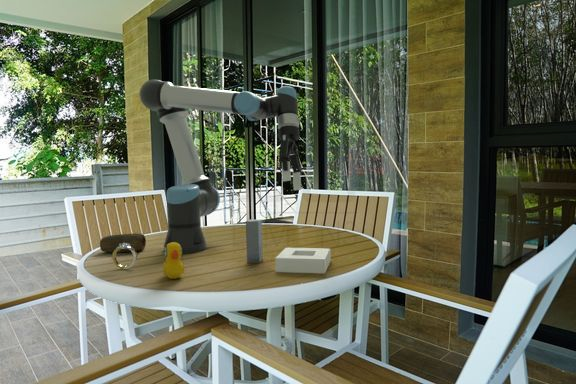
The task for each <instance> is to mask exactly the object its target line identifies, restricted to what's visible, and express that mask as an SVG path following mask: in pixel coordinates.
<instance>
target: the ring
mask: <svg viewBox="0 0 576 384" xmlns="http://www.w3.org/2000/svg"><path fill="white" fill-rule="evenodd" d="M128 244H129V243H128ZM128 244H127V243H123V244H122V245H121V244H119V245H120V246H119V247H117V248H116V249H115V250H114V252H112V257H111V259H112V262H113V263H114V265H115V266H116V267H117V268H119V269H121V270H124V269H126V270H128V269H130V268H132V267H133V266H134V265H135V264H136V262H137V258H138V254H137V251H135V249H134V248H132V247H130V244H129V245H128ZM120 248H121V249H125V248H127V249H129V250H131V252H130V253H131V254H132V256H133V257H132V258H133V259H132V262H131V264H130V265H121V264H120V263H119V262H118V260H117V253H118V252H117V251H119V250H120Z"/></svg>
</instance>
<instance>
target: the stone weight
mask: <svg viewBox="0 0 576 384" xmlns="http://www.w3.org/2000/svg"><path fill="white" fill-rule="evenodd" d="M123 243H127V244H128V243H129V244H130V247H132V248H134V249H135V251H136V252H140V251H141V250H142V251H144V250H145V248H146V244H147V240H146V237H145V234H143V233H137V232H136V233H134V232H133V233H120V234H111V235H110V234H109V235H107V236H104V237H102V238H101V239H100V241H99V248H100V251H101V252H106V253H113V252H114V250H115V249H116V248H117V247H119V246H120V245H119V244H121V245H122V244H123ZM129 244H128V245H129ZM142 251H141V252H142ZM117 253H132V252H131V250H129V249H127V248H125V249H121V248H120V250H119V251H117Z"/></svg>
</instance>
